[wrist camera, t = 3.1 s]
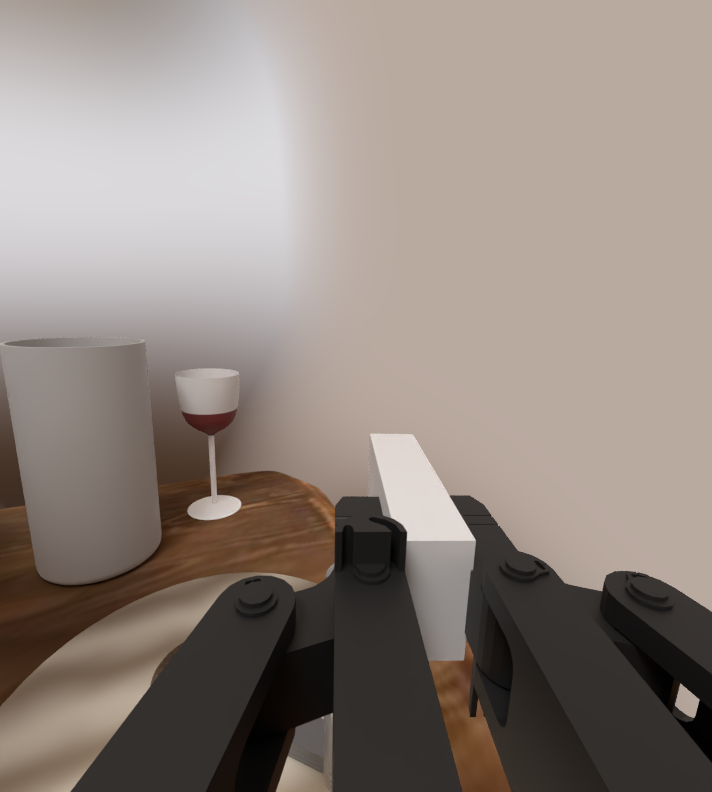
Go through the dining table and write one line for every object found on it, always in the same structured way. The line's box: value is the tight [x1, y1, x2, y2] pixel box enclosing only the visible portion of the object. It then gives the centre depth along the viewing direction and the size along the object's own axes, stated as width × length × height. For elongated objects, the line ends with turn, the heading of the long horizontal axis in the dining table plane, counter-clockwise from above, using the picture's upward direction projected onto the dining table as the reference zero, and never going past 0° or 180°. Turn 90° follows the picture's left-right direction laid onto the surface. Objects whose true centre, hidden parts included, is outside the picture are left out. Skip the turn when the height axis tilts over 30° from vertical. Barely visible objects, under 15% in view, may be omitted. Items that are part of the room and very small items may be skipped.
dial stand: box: [0, 572, 330, 792], centre depth 28 cm, size 28×28×2 cm
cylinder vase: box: [0, 337, 162, 585], centre depth 45 cm, size 12×12×25 cm
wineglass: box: [175, 369, 241, 520], centre depth 57 cm, size 8×9×20 cm
